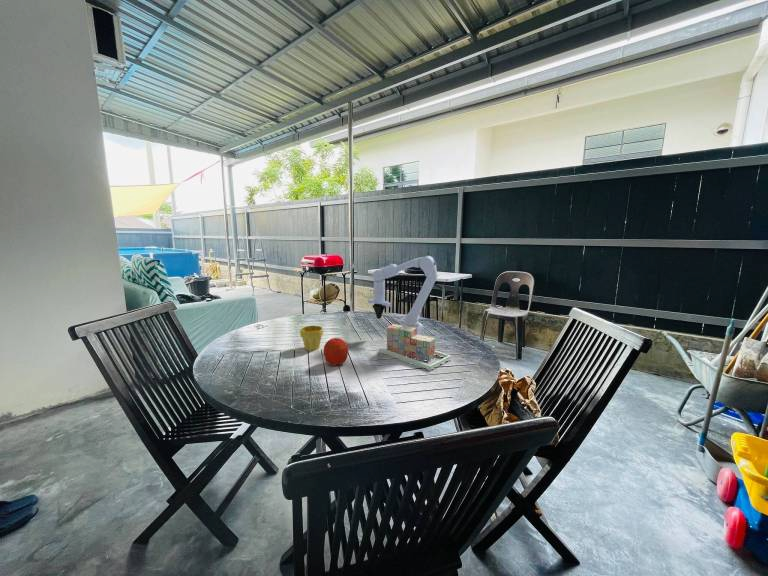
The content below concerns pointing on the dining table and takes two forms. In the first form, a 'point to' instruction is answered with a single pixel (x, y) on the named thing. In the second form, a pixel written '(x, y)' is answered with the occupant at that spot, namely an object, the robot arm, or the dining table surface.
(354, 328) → the dining table surface
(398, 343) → the stack of blocks
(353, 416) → the dining table surface
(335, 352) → the apple
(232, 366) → the dining table surface
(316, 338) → the plant pot
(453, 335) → the dining table surface
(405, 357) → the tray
